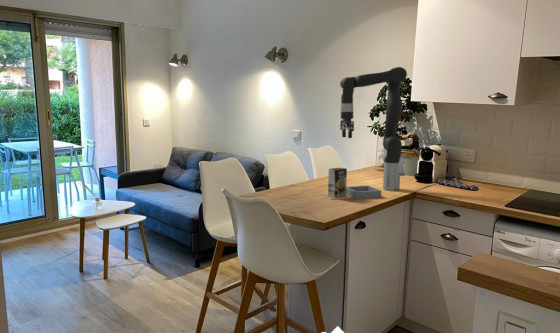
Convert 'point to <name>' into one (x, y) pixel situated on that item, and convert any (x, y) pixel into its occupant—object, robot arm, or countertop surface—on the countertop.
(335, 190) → the coffee box
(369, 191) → the grey square tray
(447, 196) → the countertop surface
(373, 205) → the countertop surface
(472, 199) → the countertop surface
